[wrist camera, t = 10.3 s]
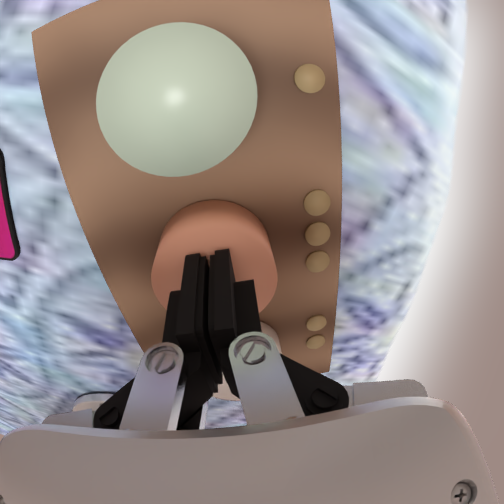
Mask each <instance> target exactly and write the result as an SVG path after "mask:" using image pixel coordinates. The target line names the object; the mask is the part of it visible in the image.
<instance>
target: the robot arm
mask: <svg viewBox="0 0 504 504" xmlns="http://www.w3.org/2000/svg"><path fill="white" fill-rule="evenodd" d="M222 372H223V374H222ZM223 375H224V378H225V380H226V383H228V386H229V388H230V391H231V393H232V394H233V395H235V396H236V397H237V398H239V399H240V400H241V404H242V407H243V411H244V415H245V418H246V422H247V425H246V426H237V427H226V428H214V429H204V428H205V422H206V415H207V409H208V402H207V401H208V400H209V399H210V398H211V397H212V396H213V393H218V384H223ZM72 411H73V412H68V413H61V414H54V415H51V416H48V417H47V418H46V419H45V420H44V421H43V423H42V424H35V425H28V426H23V427H20V428H17V429H14V430H12V431H10V432H9V433H7V434H6V435H5V436H4V437H3V438H2V440H1V442H0V504H499V500H498V497H497V493H496V490H495V487H494V484H493V480H492V477H491V474H490V471H489V468H488V465H487V463H486V460H485V457H484V455H483V452H482V450H481V448H480V445H479V443H478V441H477V439H476V437H475V435H474V433H473V431H472V429H471V427H470V425H469V423H468V422H467V420H466V419H465V417H464V416H463V414H461V412H460V411H459V410H458V409H457V408H456V407H455V406H454V405H453V404H451V403H449V402H447V401H444V400H441V399H436V398H431V397H428V396H427V392H426V390H425V388H424V386H423V385H422V384H421V383H419V382H417V381H415V380H408V379H407V380H395V381H382V382H364V383H353V386H342V385H341V384H339V383H338V382H336V381H334V380H332V379H330V378H328V377H326V376H324V375H322V374H320V373H318V372H316V371H314V370H312V369H310V368H308V367H306V366H304V365H302V364H300V363H298V362H296V361H294V360H292V359H290V358H288V357H286V356H284V355H282V354H281V353H279V351H278V348H277V346H276V343H275V342H274V340H273V339H272V338H271V337H270V336H269V335H267V334H264V333H262V330H261V323H260V317H259V310H258V304H257V298H256V291H255V285H254V279H252V280H245V281H239V282H236V280H235V275H234V270H233V265H232V260H231V255H230V250H229V248H228V249H222V250H216V251H215V255H210V262H209V265H208V261H207V257H206V256H202V257H201V254H200V253H196V254H190V255H186V256H185V261H184V268H183V275H182V282H181V290H176V291H171V292H170V294H169V300H168V306H167V312H166V319H165V325H164V332H163V339H162V343H159V344H156V345H153V346H152V347H150V348H149V349H148V350H147V351H146V352H145V353H144V355H143V357H142V359H141V362H140V365H139V367H138V370H137V373H136V376H135V378H133V379H132V380H131V381H130V382H129V383H127V384H126V385H125V386H124V387H122V388H121V389H120V390H119V391H118V392H116V393H115V394H102V393H97V394H88V395H84V396H81V397H80V398H78V399H77V400H76V401H75V403H74V406H73V410H72Z"/></svg>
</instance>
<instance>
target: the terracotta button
mask: <svg viewBox="0 0 504 504" xmlns="http://www.w3.org/2000/svg"><path fill="white" fill-rule="evenodd" d="M228 248H229V250H230V255H231V260H232V265H233V270H234V275H235V280H236V282H239V281H245V280H252V279H254V285H255V291H256V298H257V304H258V310H259V313H260V312H261V311H262V310H263V309H264V308H265V307H266V306H267V305H268V304H269V302H270V301H271V299H272V298H273V296H274V294H275V291H276V288H277V282H278V274H277V269H276V265H275V261H274V257H273V253H272V250H271V246H270V242H269V239H268V235H267V232H266V230H265V228H264V226H263V224H262V223H261V222H260V220H259V219H258V218H257V217H256V216H255V215H254V214H253V213H252V212H250V211H249V210H248V209H246V208H244V207H242V206H240V205H238V204H235V203H232V202H228V201H222V200H207V201H201V202H197V203H194V204H191V205H189V206H187V207H185V208H183V209H181V210H180V211H179V212H177V213H176V214H175V215H174V216H173V217H172V218H171V219H170V220H169V221H168V223H167V224H166V226H165V228H164V230H163V233H162V235H161V239H160V242H159V245H158V249H157V252H156V256H155V259H154V263H153V267H152V272H151V283H152V288H153V291H154V293H155V295H156V297H157V299H158V301H159V302H160V304H161V305H162V306H163V307H164V308H165V309H166V310H167V306H168V300H169V294H170V292H171V291H176V290H181V282H182V275H183V268H184V261H185V256H186V255H190V254H196V253H200V254H201V257H202V256H206V257H207V261H208V265H209V262H210V255H215V251H216V250H222V249H228Z"/></svg>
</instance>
